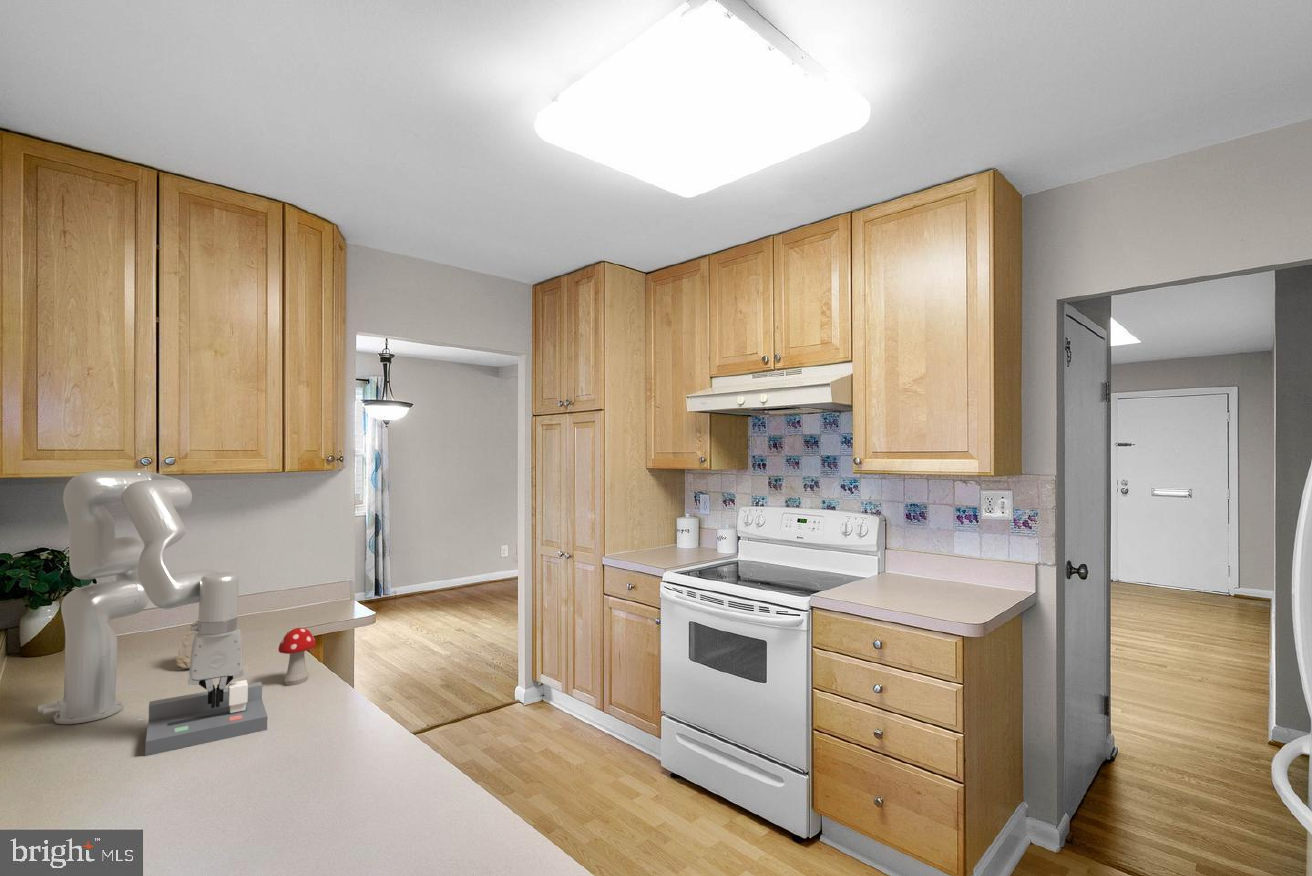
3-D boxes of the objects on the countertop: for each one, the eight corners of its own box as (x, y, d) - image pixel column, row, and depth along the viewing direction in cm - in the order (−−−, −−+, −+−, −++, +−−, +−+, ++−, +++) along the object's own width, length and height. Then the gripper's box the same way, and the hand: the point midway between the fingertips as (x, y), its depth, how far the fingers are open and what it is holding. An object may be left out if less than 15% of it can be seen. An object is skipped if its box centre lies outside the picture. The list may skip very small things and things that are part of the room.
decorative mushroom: (296, 688, 171) (297, 633, 172) (269, 686, 173) (270, 631, 174) (322, 676, 181) (323, 624, 182) (296, 674, 183) (297, 622, 183)
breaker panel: (145, 755, 132) (146, 724, 133) (148, 729, 145) (149, 701, 145) (267, 729, 146) (267, 700, 146) (260, 707, 158) (261, 681, 159)
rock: (167, 651, 180) (213, 611, 191) (157, 652, 184) (203, 612, 195) (205, 684, 186) (248, 642, 196) (195, 683, 190) (237, 643, 201)
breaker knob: (228, 714, 146) (229, 688, 146) (227, 708, 150) (228, 682, 150) (247, 710, 148) (247, 684, 148) (245, 704, 152) (246, 679, 152)
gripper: (177, 635, 140) (174, 718, 139) (256, 625, 148) (254, 703, 148) (178, 627, 146) (175, 707, 145) (254, 618, 154) (252, 694, 154)
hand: (215, 705), depth 146 cm, fingers closed
